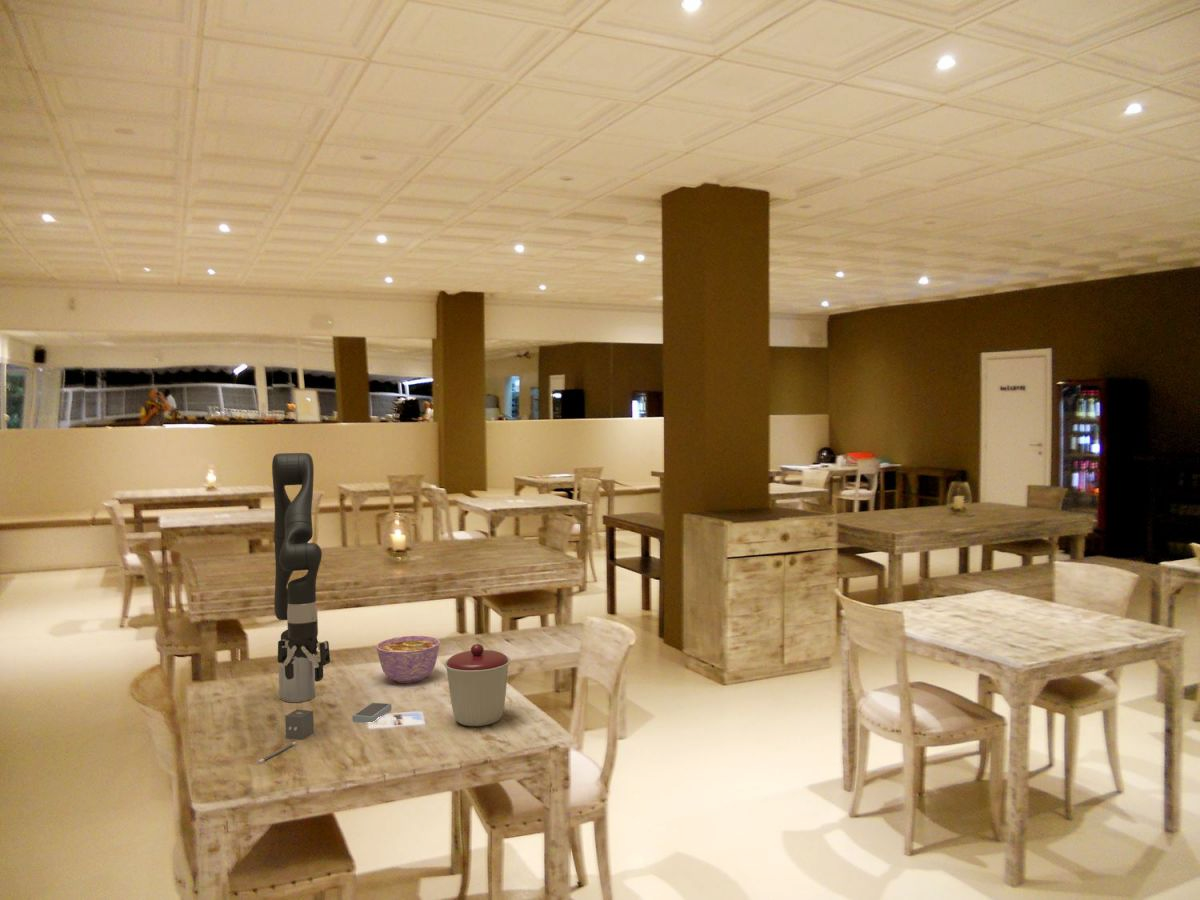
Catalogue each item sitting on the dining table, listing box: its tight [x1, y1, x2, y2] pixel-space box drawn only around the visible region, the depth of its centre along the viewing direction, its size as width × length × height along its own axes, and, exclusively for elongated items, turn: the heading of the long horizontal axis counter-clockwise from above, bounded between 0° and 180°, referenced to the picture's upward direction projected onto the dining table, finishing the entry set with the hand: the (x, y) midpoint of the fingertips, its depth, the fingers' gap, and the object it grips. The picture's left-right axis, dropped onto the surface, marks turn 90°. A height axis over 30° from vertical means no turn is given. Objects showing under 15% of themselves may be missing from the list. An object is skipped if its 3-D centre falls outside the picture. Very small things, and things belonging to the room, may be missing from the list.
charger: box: [284, 709, 315, 741], centre depth 226 cm, size 5×6×6 cm
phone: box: [352, 702, 392, 723], centre depth 241 cm, size 6×11×2 cm, turn 166°
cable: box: [258, 741, 297, 764], centre depth 214 cm, size 13×1×1 cm, turn 160°
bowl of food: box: [376, 635, 441, 684], centre depth 274 cm, size 20×20×12 cm
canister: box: [443, 643, 512, 727], centre depth 235 cm, size 18×18×21 cm
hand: (304, 679), depth 227 cm, fingers open, 8 cm apart
